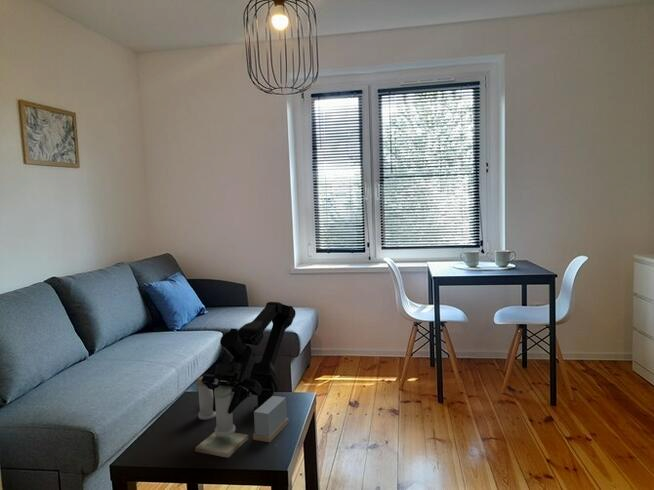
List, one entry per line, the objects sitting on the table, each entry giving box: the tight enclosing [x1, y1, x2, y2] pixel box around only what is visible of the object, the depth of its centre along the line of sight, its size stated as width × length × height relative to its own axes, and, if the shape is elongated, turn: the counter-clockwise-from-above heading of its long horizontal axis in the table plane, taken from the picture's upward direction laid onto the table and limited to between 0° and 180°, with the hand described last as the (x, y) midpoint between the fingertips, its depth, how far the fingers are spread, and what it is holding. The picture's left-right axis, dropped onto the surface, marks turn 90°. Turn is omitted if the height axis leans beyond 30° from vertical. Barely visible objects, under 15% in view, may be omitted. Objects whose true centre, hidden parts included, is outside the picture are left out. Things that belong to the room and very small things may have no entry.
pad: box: [194, 431, 249, 459], centre depth 135 cm, size 11×11×1 cm
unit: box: [252, 395, 290, 443], centre depth 142 cm, size 13×6×8 cm, turn 159°
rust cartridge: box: [197, 375, 216, 421], centre depth 154 cm, size 6×6×13 cm
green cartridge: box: [214, 386, 236, 436], centre depth 136 cm, size 6×6×13 cm
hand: (221, 412), depth 135 cm, fingers closed on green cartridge, 5 cm apart
